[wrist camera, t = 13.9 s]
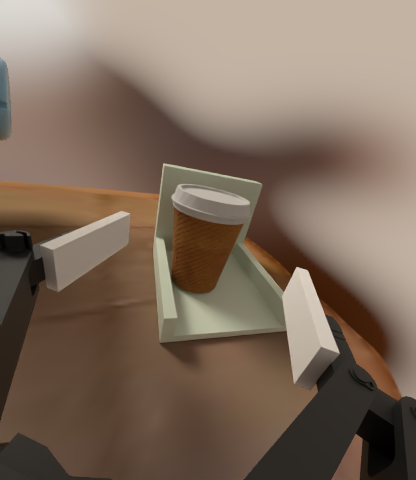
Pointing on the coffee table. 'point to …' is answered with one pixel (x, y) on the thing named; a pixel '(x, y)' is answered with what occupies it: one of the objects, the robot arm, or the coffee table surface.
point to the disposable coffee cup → (204, 234)
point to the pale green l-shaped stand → (230, 281)
